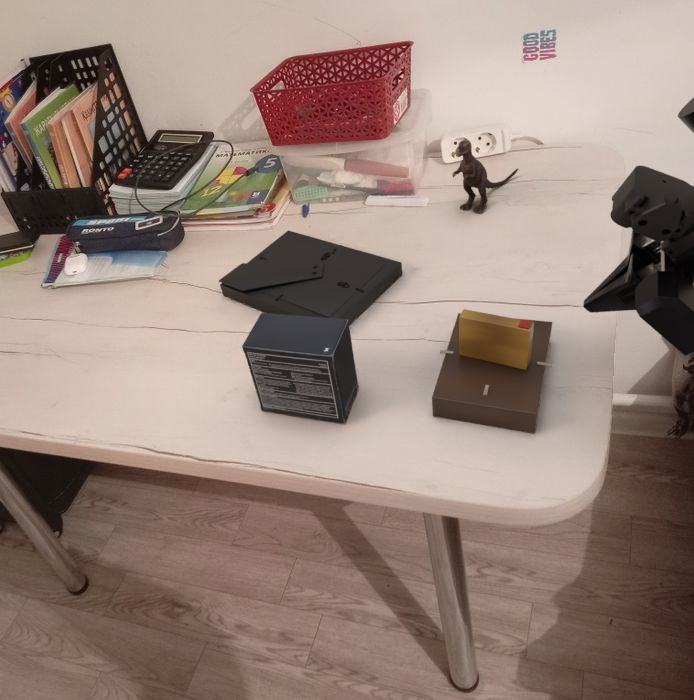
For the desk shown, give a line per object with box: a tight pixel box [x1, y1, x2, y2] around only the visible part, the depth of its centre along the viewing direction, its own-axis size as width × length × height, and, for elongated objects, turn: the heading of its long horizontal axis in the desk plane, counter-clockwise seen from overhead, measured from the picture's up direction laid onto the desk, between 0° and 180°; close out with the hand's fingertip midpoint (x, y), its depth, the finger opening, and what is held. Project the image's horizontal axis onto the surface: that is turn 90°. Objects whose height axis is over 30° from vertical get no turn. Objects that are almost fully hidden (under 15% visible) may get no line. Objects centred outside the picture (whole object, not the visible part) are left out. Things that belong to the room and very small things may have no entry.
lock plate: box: [431, 312, 553, 434], centre depth 68 cm, size 14×11×3 cm
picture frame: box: [218, 230, 403, 326], centre depth 89 cm, size 16×3×21 cm
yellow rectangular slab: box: [459, 308, 534, 370], centre depth 65 cm, size 7×1×6 cm, turn 54°
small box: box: [241, 312, 360, 424], centre depth 70 cm, size 11×6×10 cm, turn 65°
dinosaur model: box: [452, 139, 520, 214], centre depth 92 cm, size 4×12×15 cm
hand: (586, 307), depth 60 cm, fingers closed
